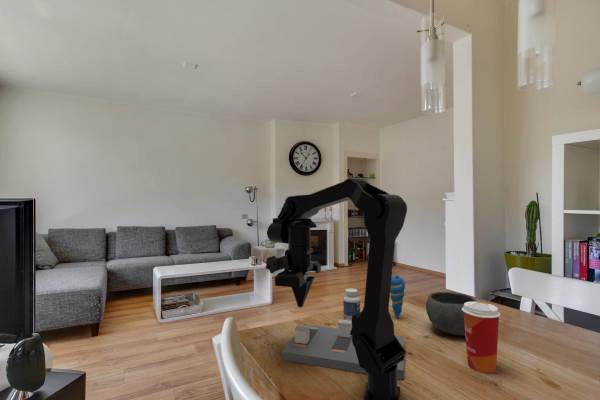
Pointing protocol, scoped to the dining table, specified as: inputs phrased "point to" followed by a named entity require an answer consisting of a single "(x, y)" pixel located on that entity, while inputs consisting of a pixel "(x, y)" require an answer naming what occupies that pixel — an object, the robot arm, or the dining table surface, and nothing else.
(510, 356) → the dining table surface
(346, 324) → the middle handle
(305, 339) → the handle
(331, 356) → the breaker panel
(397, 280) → the ornament
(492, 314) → the paper cup
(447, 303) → the bowl
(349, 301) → the pill bottle
